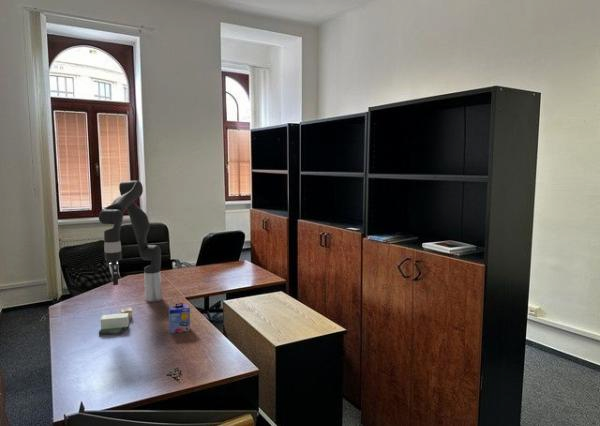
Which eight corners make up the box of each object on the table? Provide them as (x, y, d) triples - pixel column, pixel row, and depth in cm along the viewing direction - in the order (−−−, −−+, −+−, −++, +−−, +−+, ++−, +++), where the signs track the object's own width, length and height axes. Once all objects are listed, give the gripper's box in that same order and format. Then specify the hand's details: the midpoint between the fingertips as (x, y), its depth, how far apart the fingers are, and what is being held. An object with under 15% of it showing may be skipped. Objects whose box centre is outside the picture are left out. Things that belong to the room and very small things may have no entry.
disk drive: (108, 325, 218) (98, 337, 204) (108, 320, 218) (98, 331, 203) (129, 324, 219) (121, 336, 205) (129, 319, 219) (120, 330, 204)
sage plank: (128, 322, 215) (128, 312, 215) (127, 326, 210) (127, 317, 209) (103, 324, 212) (102, 315, 211) (101, 329, 206) (100, 319, 205)
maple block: (131, 316, 229) (130, 307, 228) (132, 319, 224) (132, 310, 224) (121, 318, 226) (120, 309, 225) (122, 321, 222) (121, 312, 221)
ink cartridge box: (170, 334, 206) (169, 305, 204) (168, 329, 211) (167, 301, 209) (190, 331, 210) (190, 302, 208) (189, 326, 215) (188, 299, 213)
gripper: (123, 252, 201) (124, 285, 203) (119, 246, 214) (121, 278, 216) (105, 254, 198) (107, 287, 200) (103, 248, 210) (105, 280, 212)
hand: (114, 282), depth 208 cm, fingers open, 8 cm apart
